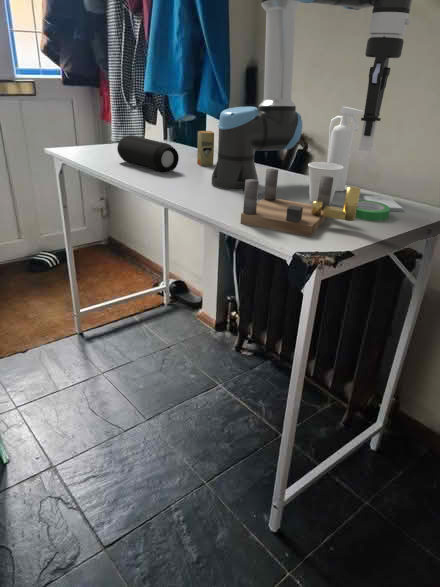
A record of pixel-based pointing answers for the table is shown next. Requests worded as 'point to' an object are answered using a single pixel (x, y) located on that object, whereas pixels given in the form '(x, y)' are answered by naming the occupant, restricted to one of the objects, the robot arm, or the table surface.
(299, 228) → the wooden peg board
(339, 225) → the table surface
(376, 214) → the tape roll
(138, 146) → the portable speaker
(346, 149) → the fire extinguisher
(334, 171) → the cup
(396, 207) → the external hard drive
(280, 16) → the robot arm
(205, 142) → the shoe polish box
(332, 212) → the leg
